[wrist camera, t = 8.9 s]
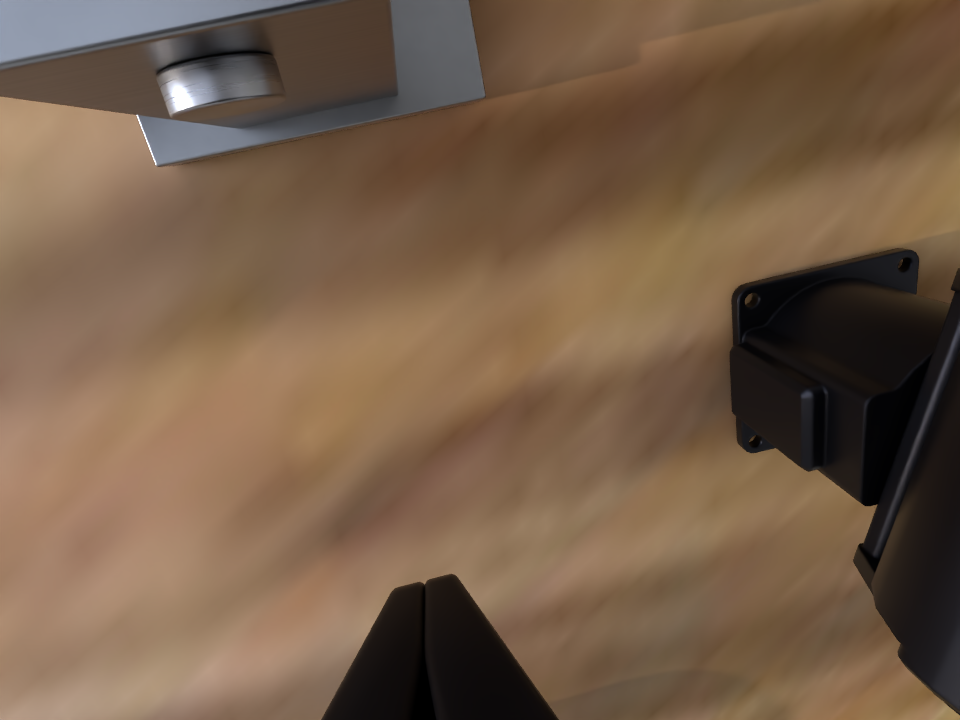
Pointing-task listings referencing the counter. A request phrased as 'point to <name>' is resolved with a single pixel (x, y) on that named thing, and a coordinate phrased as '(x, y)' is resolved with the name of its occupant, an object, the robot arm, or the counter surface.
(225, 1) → the bracket
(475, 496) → the counter surface
